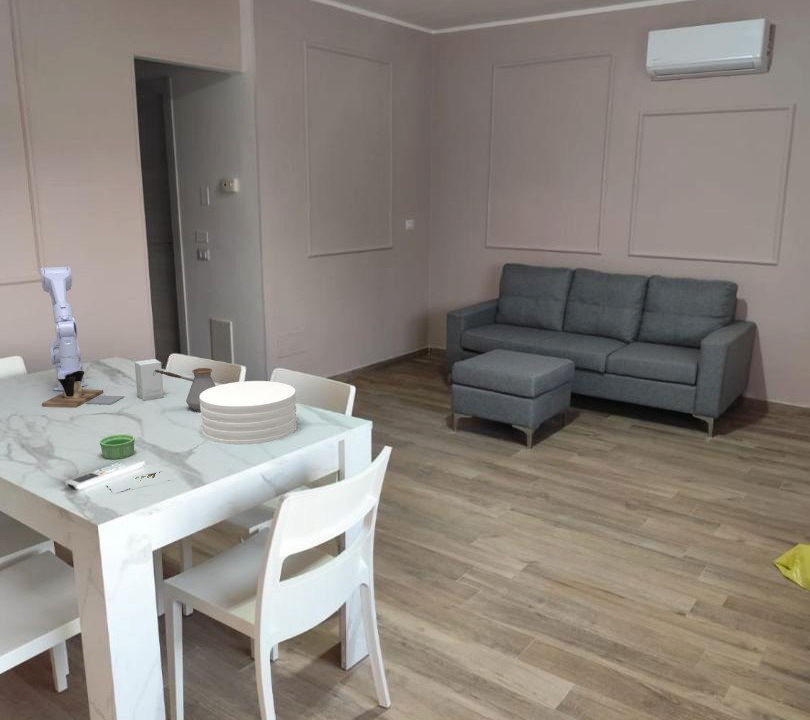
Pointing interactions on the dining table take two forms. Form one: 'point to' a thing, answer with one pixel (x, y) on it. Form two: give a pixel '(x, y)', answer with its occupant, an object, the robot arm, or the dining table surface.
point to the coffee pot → (195, 385)
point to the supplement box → (149, 379)
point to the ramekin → (117, 446)
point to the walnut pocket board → (67, 402)
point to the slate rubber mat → (105, 400)
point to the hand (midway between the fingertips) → (73, 394)
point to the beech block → (75, 391)
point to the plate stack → (248, 412)
